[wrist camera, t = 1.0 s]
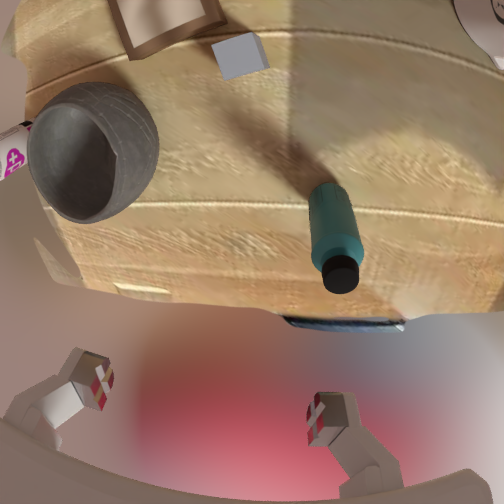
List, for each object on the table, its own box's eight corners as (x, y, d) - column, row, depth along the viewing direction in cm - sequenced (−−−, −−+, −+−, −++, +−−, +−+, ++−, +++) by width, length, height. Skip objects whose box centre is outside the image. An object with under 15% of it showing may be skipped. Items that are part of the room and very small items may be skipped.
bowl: (64, 99, 39) (4, 124, 27) (159, 56, 34) (99, 62, 23) (98, 195, 51) (52, 239, 40) (191, 177, 47) (153, 226, 35)
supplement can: (56, 129, 43) (1, 159, 31) (45, 159, 47) (-4, 193, 36) (34, 109, 40) (-21, 135, 29) (24, 139, 45) (-25, 169, 33)
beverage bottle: (301, 187, 45) (298, 271, 29) (339, 170, 42) (361, 249, 26) (318, 219, 48) (322, 311, 32) (355, 205, 45) (378, 293, 29)
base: (198, -48, 23) (188, -56, 20) (227, 23, 31) (219, 19, 27) (118, -7, 27) (103, -10, 24) (142, 59, 35) (128, 61, 31)
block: (259, 36, 32) (251, 31, 26) (270, 67, 34) (264, 68, 29) (225, 47, 33) (211, 45, 28) (236, 77, 36) (224, 80, 30)
